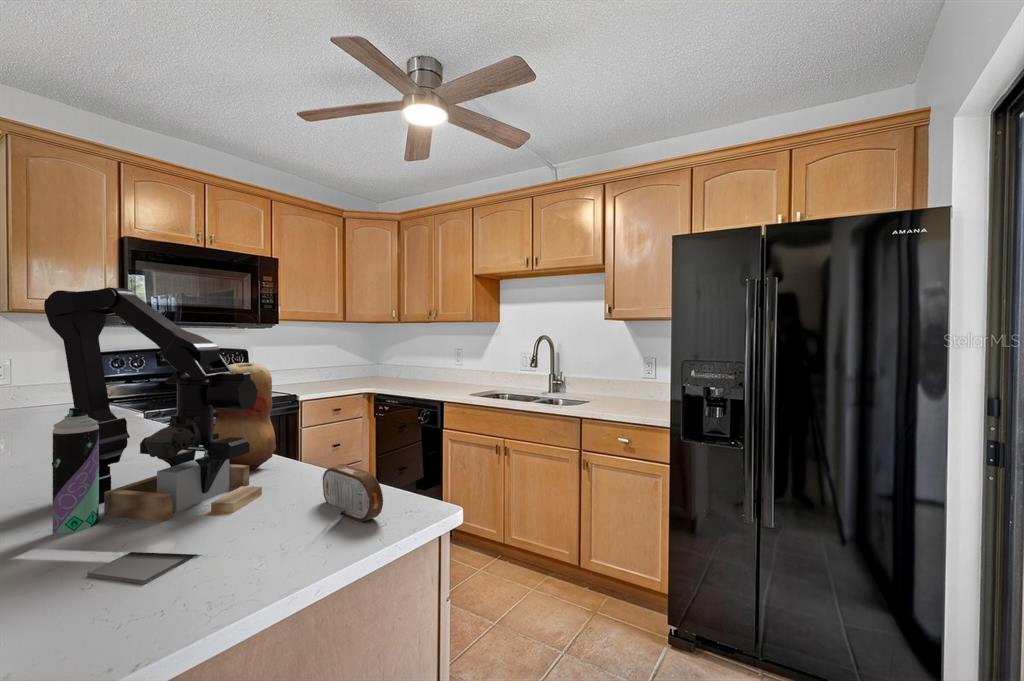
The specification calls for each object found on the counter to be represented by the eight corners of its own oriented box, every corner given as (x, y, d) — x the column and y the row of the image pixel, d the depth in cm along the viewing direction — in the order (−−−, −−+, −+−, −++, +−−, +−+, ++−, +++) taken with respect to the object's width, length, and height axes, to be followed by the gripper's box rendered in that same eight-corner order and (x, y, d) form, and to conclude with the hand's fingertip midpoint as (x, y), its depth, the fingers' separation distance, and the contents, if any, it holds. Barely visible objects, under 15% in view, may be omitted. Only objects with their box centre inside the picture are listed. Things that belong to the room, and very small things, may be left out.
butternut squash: (221, 485, 102) (222, 366, 101) (197, 472, 110) (198, 362, 110) (286, 470, 112) (287, 363, 112) (260, 460, 121) (261, 360, 120)
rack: (104, 521, 82) (104, 492, 82) (199, 485, 101) (199, 461, 101) (163, 527, 80) (163, 497, 80) (249, 489, 99) (249, 465, 99)
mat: (87, 576, 64) (87, 572, 64) (194, 525, 81) (194, 522, 81) (144, 584, 62) (144, 580, 62) (241, 530, 79) (241, 527, 79)
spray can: (46, 542, 74) (46, 411, 73) (59, 529, 78) (60, 406, 78) (92, 535, 76) (93, 409, 76) (102, 523, 81) (103, 404, 81)
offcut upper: (211, 511, 84) (211, 502, 84) (241, 494, 93) (241, 486, 93) (233, 512, 84) (233, 503, 84) (261, 495, 93) (261, 486, 93)
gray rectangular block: (156, 516, 84) (157, 471, 84) (211, 494, 96) (211, 454, 96) (176, 518, 84) (176, 472, 83) (229, 495, 95) (229, 455, 95)
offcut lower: (198, 525, 83) (198, 514, 83) (245, 501, 95) (245, 492, 94) (225, 527, 82) (225, 516, 82) (269, 502, 94) (269, 493, 94)
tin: (384, 522, 84) (385, 474, 83) (369, 528, 81) (369, 478, 81) (334, 503, 93) (334, 459, 92) (319, 507, 90) (319, 462, 90)
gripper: (110, 412, 83) (110, 502, 84) (203, 418, 80) (203, 512, 80) (167, 403, 94) (167, 483, 95) (251, 408, 91) (251, 490, 91)
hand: (195, 491), depth 90 cm, fingers closed on gray rectangular block, 4 cm apart
